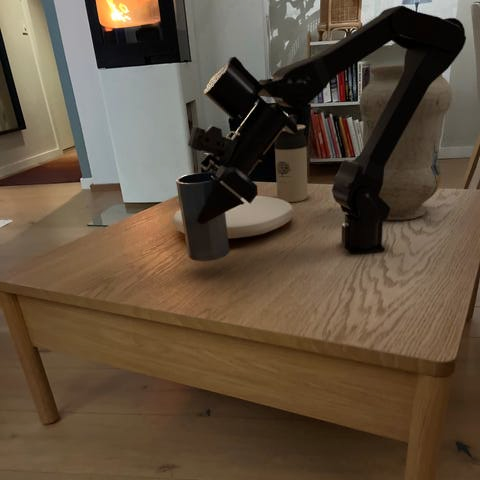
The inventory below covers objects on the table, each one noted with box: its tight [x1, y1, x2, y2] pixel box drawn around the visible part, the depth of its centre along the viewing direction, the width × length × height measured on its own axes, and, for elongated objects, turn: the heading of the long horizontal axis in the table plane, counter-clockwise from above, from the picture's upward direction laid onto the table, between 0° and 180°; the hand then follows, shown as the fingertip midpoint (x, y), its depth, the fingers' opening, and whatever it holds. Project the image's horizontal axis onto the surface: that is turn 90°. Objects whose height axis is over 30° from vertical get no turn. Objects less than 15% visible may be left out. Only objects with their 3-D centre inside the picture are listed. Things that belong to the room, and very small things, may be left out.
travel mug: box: [274, 124, 308, 203], centre depth 122 cm, size 8×8×18 cm
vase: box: [358, 63, 453, 221], centre depth 101 cm, size 18×18×30 cm
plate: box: [172, 195, 294, 239], centre depth 106 cm, size 28×6×27 cm
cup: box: [175, 172, 230, 262], centre depth 80 cm, size 7×7×13 cm
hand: (195, 216), depth 79 cm, fingers closed on cup, 7 cm apart
